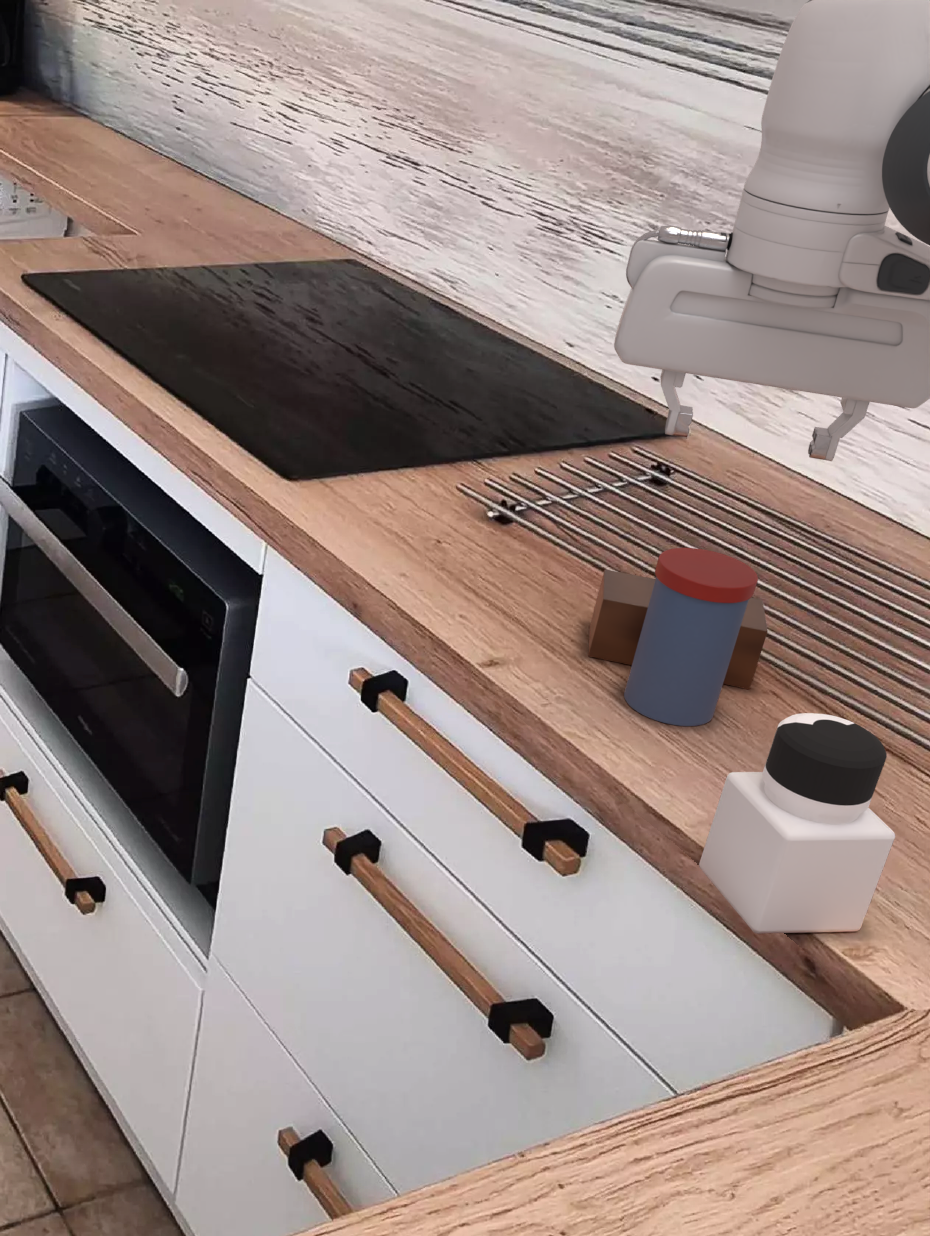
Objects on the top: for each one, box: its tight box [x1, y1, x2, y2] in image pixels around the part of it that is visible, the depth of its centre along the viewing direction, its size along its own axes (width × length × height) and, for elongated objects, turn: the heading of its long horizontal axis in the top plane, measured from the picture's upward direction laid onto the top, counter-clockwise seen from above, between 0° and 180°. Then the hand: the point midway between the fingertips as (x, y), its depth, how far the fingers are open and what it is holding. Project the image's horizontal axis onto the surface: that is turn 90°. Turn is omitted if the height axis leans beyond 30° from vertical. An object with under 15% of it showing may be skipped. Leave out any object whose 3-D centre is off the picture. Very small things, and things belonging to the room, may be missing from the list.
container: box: [623, 547, 759, 727], centre depth 126 cm, size 7×12×12 cm
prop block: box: [587, 569, 769, 690], centre depth 134 cm, size 12×6×5 cm, turn 73°
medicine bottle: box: [698, 712, 896, 935], centre depth 103 cm, size 7×7×12 cm
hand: (747, 445), depth 119 cm, fingers open, 8 cm apart
